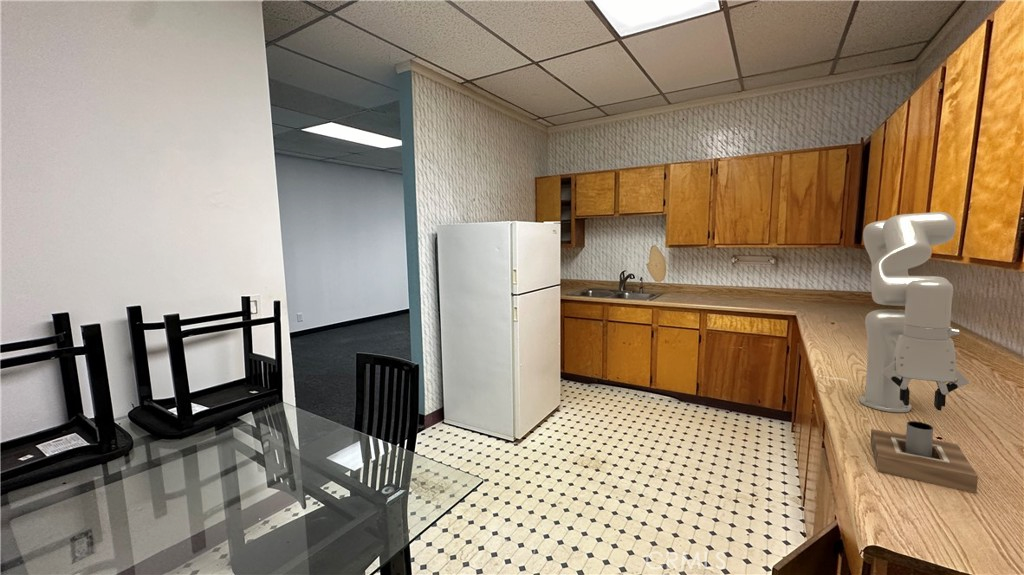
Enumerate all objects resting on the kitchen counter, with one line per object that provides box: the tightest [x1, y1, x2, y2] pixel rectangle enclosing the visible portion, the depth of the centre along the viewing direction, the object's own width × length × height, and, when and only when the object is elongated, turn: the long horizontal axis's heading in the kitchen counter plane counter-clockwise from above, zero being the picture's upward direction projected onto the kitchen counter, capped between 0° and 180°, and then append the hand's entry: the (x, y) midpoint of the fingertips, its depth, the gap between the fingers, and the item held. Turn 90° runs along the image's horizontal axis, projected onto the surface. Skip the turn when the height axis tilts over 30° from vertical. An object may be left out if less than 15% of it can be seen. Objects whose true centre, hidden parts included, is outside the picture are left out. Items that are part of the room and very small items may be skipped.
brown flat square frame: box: [870, 428, 979, 494], centre depth 98 cm, size 16×16×4 cm
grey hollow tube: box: [905, 420, 934, 458], centre depth 98 cm, size 4×4×10 cm
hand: (921, 405), depth 97 cm, fingers open, 4 cm apart
